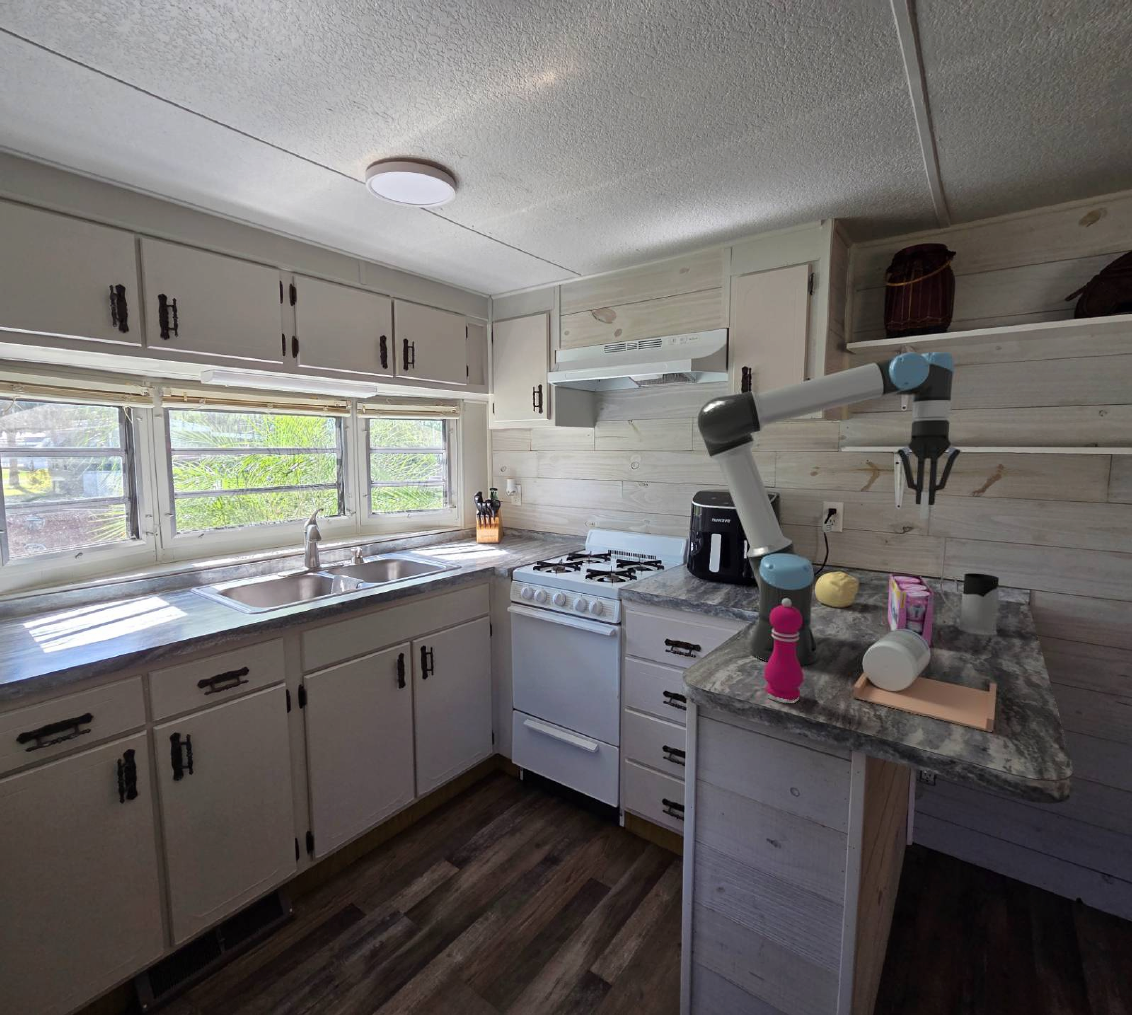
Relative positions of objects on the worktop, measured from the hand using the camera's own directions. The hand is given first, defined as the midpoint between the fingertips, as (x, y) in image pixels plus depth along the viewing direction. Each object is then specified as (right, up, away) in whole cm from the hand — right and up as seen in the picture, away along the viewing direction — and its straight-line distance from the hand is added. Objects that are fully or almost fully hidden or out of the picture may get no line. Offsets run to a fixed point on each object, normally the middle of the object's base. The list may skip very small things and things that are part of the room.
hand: (924, 518), depth 136 cm
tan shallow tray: (-16, -35, -25) cm, 46 cm away
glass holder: (+24, -31, +20) cm, 44 cm away
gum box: (+6, -31, +16) cm, 36 cm away
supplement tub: (-12, -29, -13) cm, 34 cm away
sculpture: (-1, -29, +42) cm, 51 cm away
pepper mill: (-44, -35, -25) cm, 61 cm away
